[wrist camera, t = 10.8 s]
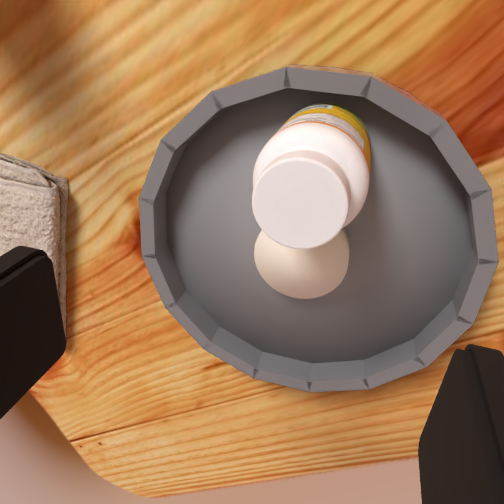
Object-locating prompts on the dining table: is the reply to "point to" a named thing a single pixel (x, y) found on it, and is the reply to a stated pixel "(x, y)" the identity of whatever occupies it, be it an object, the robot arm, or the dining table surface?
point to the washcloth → (35, 215)
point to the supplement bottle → (312, 176)
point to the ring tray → (329, 254)
